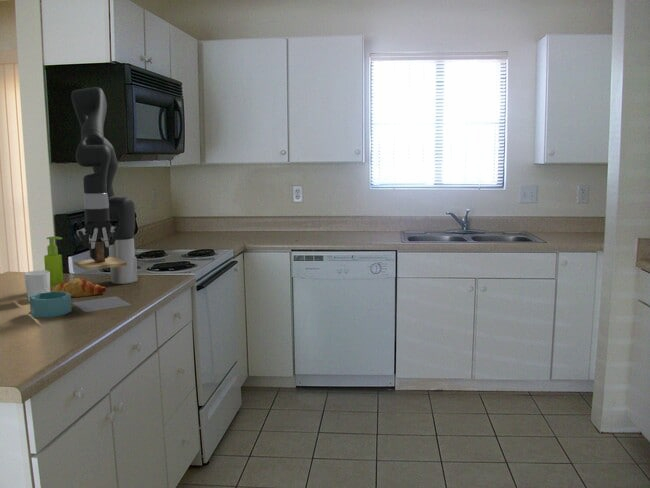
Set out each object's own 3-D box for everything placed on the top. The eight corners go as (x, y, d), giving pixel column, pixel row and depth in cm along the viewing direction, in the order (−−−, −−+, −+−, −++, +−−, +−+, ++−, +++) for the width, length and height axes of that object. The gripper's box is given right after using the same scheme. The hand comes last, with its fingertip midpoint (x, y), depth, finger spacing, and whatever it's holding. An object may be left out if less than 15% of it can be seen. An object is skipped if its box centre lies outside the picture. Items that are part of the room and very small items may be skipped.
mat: (116, 297, 214) (116, 296, 214) (131, 306, 203) (131, 304, 203) (71, 304, 205) (71, 302, 205) (85, 314, 194) (85, 312, 193)
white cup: (31, 298, 213) (29, 270, 212) (55, 298, 214) (53, 270, 212) (22, 304, 205) (20, 275, 204) (46, 303, 206) (44, 274, 204)
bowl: (64, 307, 201) (63, 289, 200) (74, 314, 192) (73, 296, 192) (28, 313, 194) (27, 294, 193) (37, 320, 186) (35, 301, 185)
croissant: (44, 307, 215) (37, 290, 211) (53, 288, 223) (47, 271, 219) (104, 305, 216) (99, 288, 211) (111, 287, 224) (107, 270, 219)
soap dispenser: (59, 292, 222) (56, 238, 219) (43, 291, 223) (39, 237, 220) (69, 289, 227) (66, 236, 224) (53, 288, 229) (49, 235, 226)
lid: (112, 259, 211) (111, 238, 210) (126, 265, 201) (125, 242, 200) (73, 264, 203) (72, 241, 202) (86, 270, 193) (84, 247, 192)
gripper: (114, 204, 206) (116, 254, 209) (70, 207, 197) (74, 259, 200) (122, 206, 200) (124, 258, 203) (77, 209, 192) (81, 263, 194)
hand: (99, 258), depth 202 cm, fingers closed on lid, 3 cm apart
